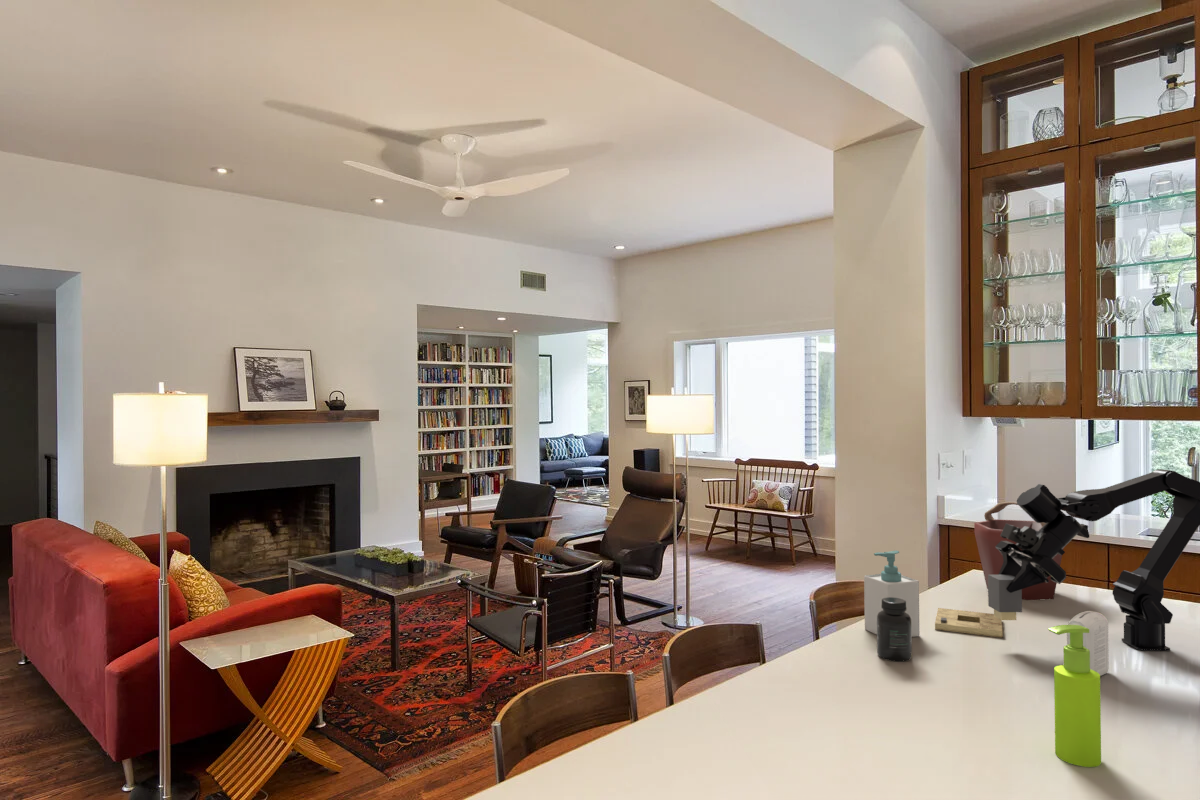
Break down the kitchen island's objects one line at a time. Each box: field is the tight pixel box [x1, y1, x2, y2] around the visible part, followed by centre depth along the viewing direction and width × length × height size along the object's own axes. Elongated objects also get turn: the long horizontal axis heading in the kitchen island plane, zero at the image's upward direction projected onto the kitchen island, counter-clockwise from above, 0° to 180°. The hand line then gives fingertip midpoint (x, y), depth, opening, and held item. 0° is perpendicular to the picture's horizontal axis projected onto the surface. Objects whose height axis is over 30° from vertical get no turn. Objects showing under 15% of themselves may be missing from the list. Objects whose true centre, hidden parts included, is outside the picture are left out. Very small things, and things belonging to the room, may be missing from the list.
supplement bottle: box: [876, 597, 913, 663], centre depth 155 cm, size 7×7×12 cm
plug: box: [987, 575, 1023, 621], centre depth 161 cm, size 5×5×9 cm
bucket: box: [973, 501, 1065, 601], centre depth 205 cm, size 24×22×25 cm
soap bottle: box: [863, 550, 921, 638], centre depth 171 cm, size 9×9×19 cm
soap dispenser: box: [1047, 624, 1102, 768], centre depth 111 cm, size 6×7×20 cm
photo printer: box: [1066, 610, 1110, 677], centre depth 144 cm, size 10×4×12 cm, turn 123°
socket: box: [934, 607, 1004, 639], centre depth 176 cm, size 14×14×2 cm
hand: (1002, 588), depth 161 cm, fingers closed on plug, 5 cm apart
